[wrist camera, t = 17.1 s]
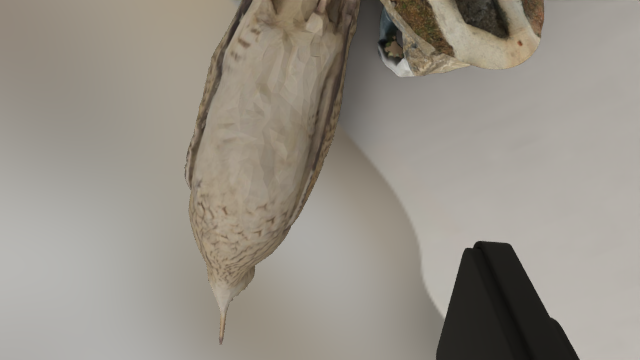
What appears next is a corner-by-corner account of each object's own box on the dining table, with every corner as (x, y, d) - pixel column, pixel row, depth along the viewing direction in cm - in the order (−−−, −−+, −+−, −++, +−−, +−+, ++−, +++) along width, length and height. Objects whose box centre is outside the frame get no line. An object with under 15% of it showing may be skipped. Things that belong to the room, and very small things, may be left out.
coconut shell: (419, -166, 19) (330, -31, 23) (357, -121, 13) (257, 44, 18) (573, -26, 20) (459, 78, 24) (572, 68, 15) (427, 178, 19)
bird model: (142, 363, 26) (175, 294, 31) (251, 391, 27) (269, 320, 31) (256, -422, 11) (289, -343, 15) (503, -330, 12) (470, -277, 16)
